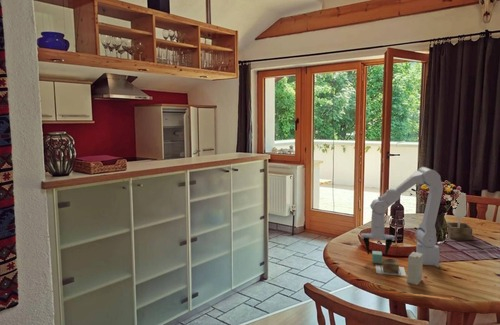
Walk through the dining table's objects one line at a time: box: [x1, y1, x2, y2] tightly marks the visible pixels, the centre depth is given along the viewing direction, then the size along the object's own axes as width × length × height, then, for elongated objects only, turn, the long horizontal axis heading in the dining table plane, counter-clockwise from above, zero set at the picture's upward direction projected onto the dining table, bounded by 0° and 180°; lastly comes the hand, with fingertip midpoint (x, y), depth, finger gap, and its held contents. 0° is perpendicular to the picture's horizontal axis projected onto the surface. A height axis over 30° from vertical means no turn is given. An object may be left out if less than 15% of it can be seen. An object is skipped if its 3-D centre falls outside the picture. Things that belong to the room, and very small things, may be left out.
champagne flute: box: [452, 192, 468, 228], centre depth 209 cm, size 7×7×24 cm
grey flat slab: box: [374, 264, 407, 277], centre depth 166 cm, size 12×9×1 cm
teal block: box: [371, 250, 383, 264], centre depth 175 cm, size 4×4×5 cm
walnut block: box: [382, 257, 400, 274], centre depth 165 cm, size 6×6×4 cm
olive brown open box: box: [445, 221, 473, 241], centre depth 210 cm, size 11×11×6 cm
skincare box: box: [406, 251, 424, 286], centre depth 154 cm, size 6×4×12 cm
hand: (377, 254), depth 175 cm, fingers open, 7 cm apart
